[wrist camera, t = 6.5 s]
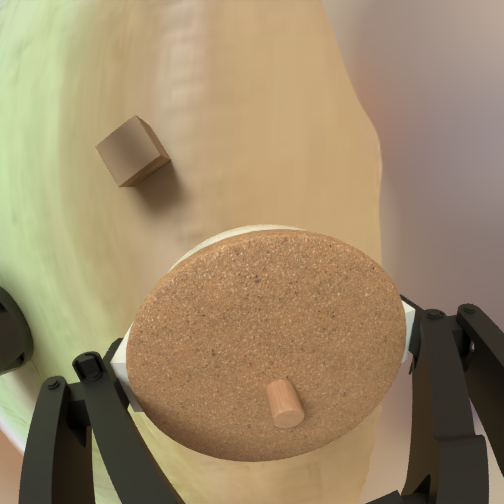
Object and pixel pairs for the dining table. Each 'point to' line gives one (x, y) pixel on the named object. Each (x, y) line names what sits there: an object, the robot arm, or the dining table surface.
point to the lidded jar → (266, 343)
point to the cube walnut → (132, 152)
